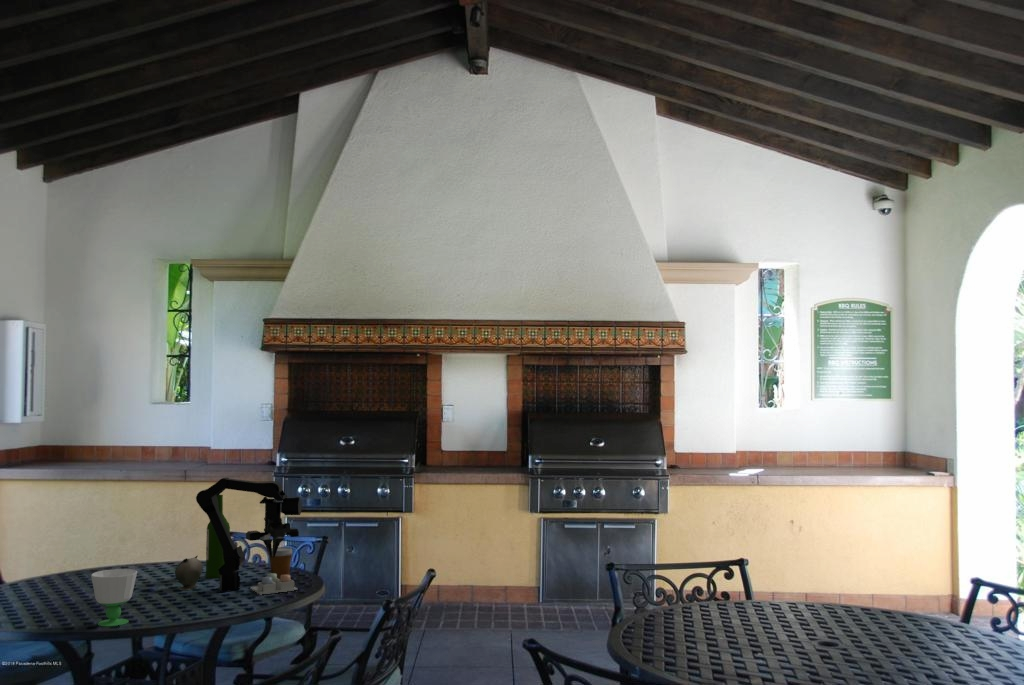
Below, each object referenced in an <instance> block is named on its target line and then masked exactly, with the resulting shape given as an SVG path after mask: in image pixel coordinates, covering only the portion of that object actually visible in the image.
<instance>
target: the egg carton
mask: <svg viewBox="0 0 1024 685" xmlns="http://www.w3.org/2000/svg"><path fill="white" fill-rule="evenodd" d="M295 585H296V584H295V581H294V580H293V579H291V578H290V582H280V579H278V578H277V580H275V581H272V584H265V585H263V584H262V581H260V582H257V586H250V589H252V590H253V591H255V592H257V593H259V594H260V595H262V594H270V593H278V592H287V591H294V590H298V589H299V588H298V587H295ZM250 589H249V590H250ZM253 591H252V592H253ZM255 592H254V593H255ZM260 595H259V596H260Z"/></svg>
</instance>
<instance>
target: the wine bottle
mask: <svg viewBox="0 0 1024 685" xmlns="http://www.w3.org/2000/svg"><path fill="white" fill-rule="evenodd" d="M223 495H224V494H219V495H218V496H217V498H218V505H219V511H220V513H221V516H222V518H223V520H224V522H225V525H226V527H227V529H228V531H229V534H230V533H231V527H230V523H229V521H228V520H227V518H226V516H225V515H224V506H223V505H224V502H223V500H224V498H223V497H224V496H223ZM230 535H231V534H230ZM205 543H206V545H205V546H206V547H205V548H206V550H205V578H206V577H208V578H207V579H210V578H218V579H220V574H219V571H218V569H219V568H220V567H222V566H223V565H224V564H225V563H224V559H223V549H222V547H221V544H220V542H219V540H218V537H217V535H216V533H215V531H214V528H213V526H212V524H211V522H210V521H209V522H208V523H207V527H206V542H205Z"/></svg>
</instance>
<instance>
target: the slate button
mask: <svg viewBox="0 0 1024 685" xmlns="http://www.w3.org/2000/svg"><path fill="white" fill-rule="evenodd" d="M261 582H262V584H263V585H265V584H272V577H267V576H262V577H261Z"/></svg>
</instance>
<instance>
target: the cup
mask: <svg viewBox="0 0 1024 685" xmlns="http://www.w3.org/2000/svg"><path fill="white" fill-rule="evenodd" d="M137 575H138V570H135V569H129V568H115V569H105V570H99V571H95V572H93V573H91V576H90V577H91V582H92V587H93V591H94V593H93V594H94V597H95V600H96V603H98V604H100V605H103V606H106V607H107V608H106V610H105V616H106V617H107V619H104V620H101V621H99V622H98V623H97V625H98V626H99V627H106V628H107V627H117V626H118V625H119V626H123V625H125V624H128V623H129V620H128V619H126V618H120V616H121V614H122V608H121V605H123V604H125V603H126V602H128V601H130V599H131V598H132V597H133V592H134V589H135V584H136V580H137Z"/></svg>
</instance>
